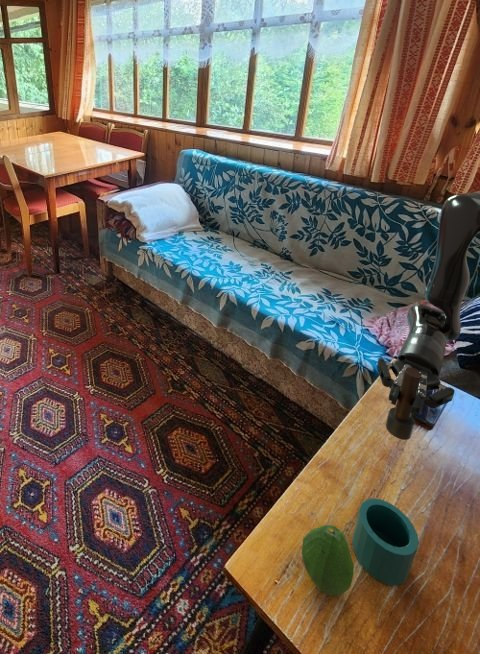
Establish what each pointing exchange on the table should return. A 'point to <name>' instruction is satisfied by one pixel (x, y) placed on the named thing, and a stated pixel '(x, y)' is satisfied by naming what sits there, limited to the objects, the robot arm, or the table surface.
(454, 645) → the table surface
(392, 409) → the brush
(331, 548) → the avocado
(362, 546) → the jar
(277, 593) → the table surface
